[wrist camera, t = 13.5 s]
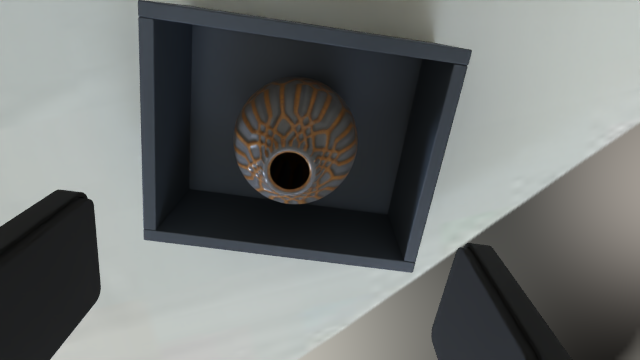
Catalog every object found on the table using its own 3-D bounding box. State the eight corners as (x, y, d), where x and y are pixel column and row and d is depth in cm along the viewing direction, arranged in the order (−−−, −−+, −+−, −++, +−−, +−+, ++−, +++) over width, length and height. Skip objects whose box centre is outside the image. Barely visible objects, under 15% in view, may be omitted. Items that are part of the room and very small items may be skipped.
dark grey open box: (184, 5, 24) (137, -1, 18) (435, 43, 25) (472, 50, 19) (181, 193, 29) (143, 240, 22) (393, 220, 29) (412, 273, 23)
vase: (342, 59, 25) (352, 79, 16) (360, 164, 27) (377, 225, 19) (233, 82, 25) (191, 112, 17) (261, 182, 28) (236, 250, 19)
